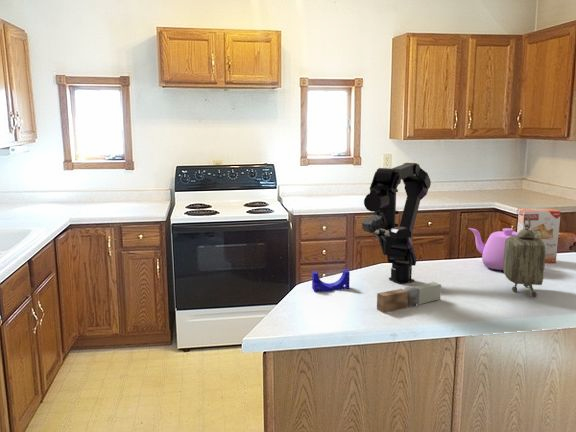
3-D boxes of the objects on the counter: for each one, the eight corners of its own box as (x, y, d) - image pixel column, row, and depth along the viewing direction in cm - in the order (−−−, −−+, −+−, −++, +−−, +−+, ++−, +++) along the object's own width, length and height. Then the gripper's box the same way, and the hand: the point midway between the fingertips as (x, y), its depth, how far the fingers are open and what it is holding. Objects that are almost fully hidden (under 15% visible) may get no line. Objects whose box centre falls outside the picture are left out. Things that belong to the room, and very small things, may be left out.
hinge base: (410, 302, 158) (411, 286, 158) (419, 305, 155) (419, 289, 154) (376, 309, 153) (376, 292, 152) (384, 313, 149) (384, 296, 148)
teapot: (535, 263, 201) (538, 225, 199) (524, 276, 184) (527, 235, 182) (475, 255, 214) (477, 220, 212) (460, 267, 197) (462, 228, 195)
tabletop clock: (541, 299, 160) (548, 220, 156) (510, 297, 162) (516, 219, 157) (530, 285, 174) (535, 212, 170) (501, 284, 176) (506, 211, 171)
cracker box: (520, 263, 202) (524, 210, 198) (514, 259, 208) (517, 208, 204) (557, 263, 201) (561, 210, 198) (550, 259, 207) (554, 208, 204)
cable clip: (314, 292, 169) (314, 275, 168) (312, 288, 173) (312, 271, 172) (350, 291, 170) (350, 273, 169) (347, 286, 175) (347, 269, 174)
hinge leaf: (409, 306, 153) (410, 291, 152) (400, 303, 157) (401, 288, 156) (441, 299, 160) (442, 284, 159) (432, 296, 163) (432, 281, 162)
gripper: (349, 205, 170) (348, 251, 172) (384, 213, 153) (383, 264, 156) (376, 203, 175) (375, 248, 177) (413, 210, 158) (412, 260, 161)
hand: (385, 254), depth 168 cm, fingers closed
